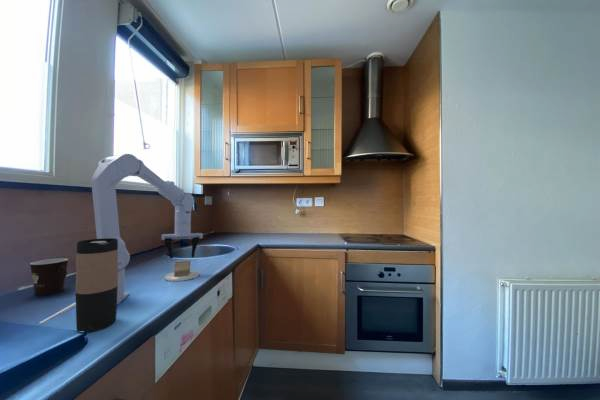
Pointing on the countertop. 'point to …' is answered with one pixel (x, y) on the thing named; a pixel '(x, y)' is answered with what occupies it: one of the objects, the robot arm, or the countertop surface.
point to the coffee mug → (48, 276)
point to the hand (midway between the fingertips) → (182, 257)
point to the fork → (60, 312)
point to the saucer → (171, 276)
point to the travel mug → (96, 284)
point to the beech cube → (182, 268)
